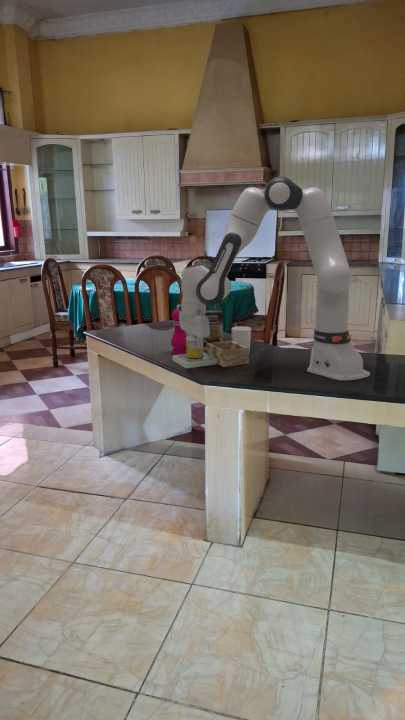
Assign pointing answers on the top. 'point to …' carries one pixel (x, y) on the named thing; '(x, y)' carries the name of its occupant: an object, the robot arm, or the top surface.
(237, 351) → the beech box
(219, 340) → the coffee box
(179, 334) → the pepper mill
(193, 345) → the pill bottle
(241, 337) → the white cup
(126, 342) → the top surface
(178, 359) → the sage tray
